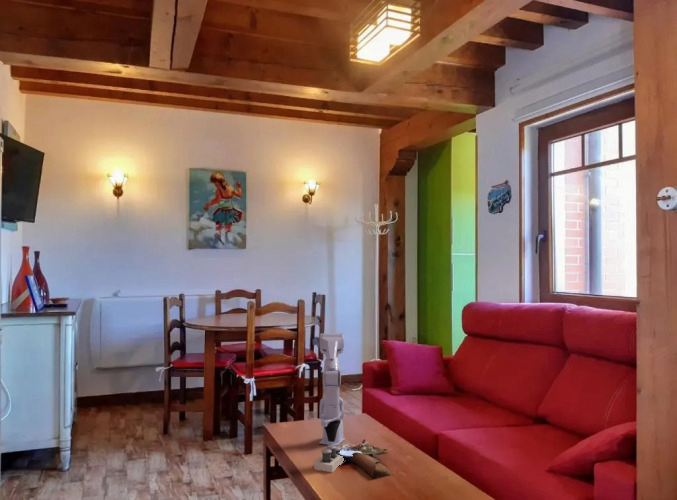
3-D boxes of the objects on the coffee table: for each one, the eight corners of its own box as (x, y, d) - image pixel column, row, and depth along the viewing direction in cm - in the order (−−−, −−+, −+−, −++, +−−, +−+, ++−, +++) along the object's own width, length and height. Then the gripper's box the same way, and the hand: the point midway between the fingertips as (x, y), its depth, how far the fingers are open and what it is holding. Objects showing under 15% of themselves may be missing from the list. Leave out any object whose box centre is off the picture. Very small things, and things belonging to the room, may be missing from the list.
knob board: (330, 455, 206) (330, 448, 206) (348, 457, 203) (348, 451, 203) (314, 469, 192) (314, 462, 192) (332, 472, 189) (332, 465, 189)
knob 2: (333, 455, 204) (333, 445, 204) (342, 456, 202) (342, 447, 202) (329, 458, 200) (329, 449, 201) (338, 460, 199) (338, 450, 199)
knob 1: (324, 458, 196) (324, 448, 196) (333, 459, 194) (333, 449, 194) (319, 461, 192) (319, 451, 192) (329, 463, 191) (329, 453, 191)
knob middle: (328, 454, 200) (328, 444, 200) (338, 455, 198) (338, 445, 198) (325, 457, 196) (325, 447, 196) (334, 458, 195) (334, 448, 195)
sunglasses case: (395, 474, 187) (386, 459, 185) (379, 488, 184) (371, 473, 183) (370, 457, 203) (362, 443, 202) (355, 470, 200) (347, 455, 199)
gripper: (329, 397, 206) (329, 433, 206) (313, 407, 192) (313, 445, 192) (346, 399, 203) (346, 436, 203) (331, 409, 190) (331, 448, 190)
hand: (331, 441), depth 197 cm, fingers closed
